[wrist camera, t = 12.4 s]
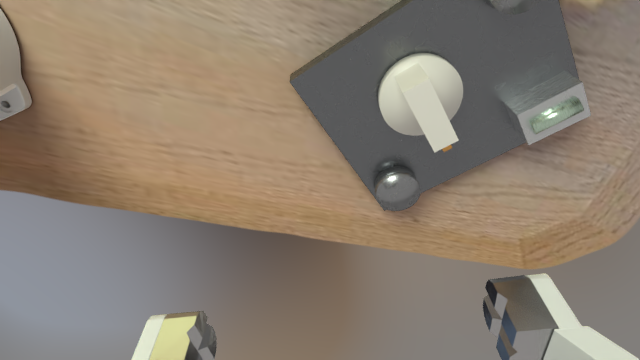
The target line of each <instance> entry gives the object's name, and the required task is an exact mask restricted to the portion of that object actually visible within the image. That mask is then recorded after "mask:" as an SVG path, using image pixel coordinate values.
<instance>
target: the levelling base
mask: <svg viewBox="0 0 640 360" xmlns="http://www.w3.org/2000/svg"><path fill="white" fill-rule="evenodd" d="M417 53H431V54H435V55H438V56H441V57H443V58H444V59H446V60H447V61H448V62H449V63H450V64H451V65H452V66H453V67H454V68H455V69H456V71H457V72H458V73H459V75H460V77H461V80H462V84H463V98H462V102H461V104H460V107H459V109H458V111H457V112H456V114H455V115H454V117H453V118H452V119H451V120H450V123H451V125H452V127H453V129H454V131H455V133H456V135H457V138H458V140H459V141H457V142H455V143H453V144H451V145H449V146H450V148H451V149H449V150H447V151H445V152H443V150H442V149H441V150H439V151H437V152H435V153H434V151H433V149H432V147H431V145H430V143H429V141H428V140H427V138H426V136H425V135H418V136H411V135H405V134H402V133H399V132H397V131H395V130H394V129H392V128H391V127H390V126H389V125H388V124H387V123H386V121H385V120H384V118H383V116H382V113H381V110H380V107H379V104H378V89H379V86H380V83H381V80H382V78H383V77H384V75H385V74H386V72H387V71H388V70H389V69H390V68H391V67H392V66H393V65H394V64H395V63H396V62H398V61H399V60H401V59H403V58H405V57H407V56H410V55H413V54H417ZM290 83H291V84H292V86H293V87H294V88H295V90H296V91H297V92H298V94H299V95H300V96H301V98H302V99H303V101H304V102H305V103H306V105H307V106H308V107H309V109H310V110H311V111H312V113H313V114H314V116H315V117H316V118H317V120H318V121H319V122H320V124H321V125H322V126H323V128H324V129H325V131H326V132H327V133H328V135H329V136H330V137H331V139H332V140H333V141H334V143H335V144H336V146H337V147H338V148H339V150H340V151H341V152H342V154H343V155H344V156H345V158H346V159H347V160H348V162H349V163H350V165H351V166H352V167H353V169H354V170H355V171H356V173H357V174H358V175H359V177H360V178H361V180H362V181H363V182H364V184H365V185H366V186H367V188H368V189H369V190H370V192H371V193H372V195H373V196H374V197H375V199H376V200H377V201H378V203H379V204H380V206H381V207H382V208H383V210H384V211H385V210H391V211H400V210H404V209H407V208H409V207H411V206H412V205H413V204H415V203H416V202H417V200H418V198H419V196H420V193H422V192H424V191H426V190H428V189H430V188H432V187H434V186H437V185H439V184H441V183H443V182H445V181H447V180H449V179H451V178H453V177H455V176H457V175H459V174H461V173H463V172H465V171H467V170H470V169H472V168H474V167H476V166H478V165H480V164H482V163H484V162H486V161H488V160H490V159H492V158H494V157H496V156H498V155H500V154H503V153H505V152H507V151H509V150H511V149H513V148H515V147H517V146H519V145H521V144H523V143H525V142H526V143H527V144H528V145H530V144H532V143H535V142H537V141H539V140H541V139H543V138H545V137H547V136H549V135H551V134H553V133H555V132H557V131H559V130H562V129H564V128H566V127H568V126H570V125H572V124H574V123H576V122H578V121H580V120H582V119H584V118H587V117H589V116H591V113H590V109H589V105H588V102H587V98H586V94H585V90H584V86H583V82H581V81H580V80H579V77H578V74H577V70H576V66H575V62H574V58H573V54H572V51H571V47H570V43H569V39H568V35H567V31H566V28H565V24H564V20H563V16H562V12H561V8H560V5H559V1H558V0H402V1H400V2H399V3H397V4H396V5H394V6H393V7H391V8H390V9H388V10H387V11H385V12H384V13H382V14H381V15H379V16H378V17H376V18H375V19H373V20H372V21H370V22H369V23H367V24H366V25H364V26H363V27H361V28H360V29H358V30H357V31H355V32H354V33H352V34H351V35H349V36H348V37H346V38H345V39H343V40H342V41H340V42H339V43H337V44H336V45H334V46H333V47H331V48H330V49H328V50H327V51H325V52H324V53H322V54H321V55H319V56H318V57H316V58H315V59H313V60H312V61H310V62H309V63H307V64H306V65H304V66H303V67H301V68H300V69H298V70H297V71H295V72H294V73H292V74H291V76H290Z"/></svg>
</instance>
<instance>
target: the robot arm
mask: <svg viewBox="0 0 640 360" xmlns="http://www.w3.org/2000/svg"><path fill="white" fill-rule="evenodd" d="M6 101H7V102H8V103H9V104H10V105H9V104H8V103H7V102H6ZM31 103H32V100H31V96H30V93H29V91H28V89H27V87H26V85H25V83H24V81H23V79H22V75H21V61H20V51H19V46H18V43H17V40H16V37H15V34H14V32H13V29H12V27H11V25H10V23H9V22H8V20H7V18H6V16H5V15H4V13H3V12H2V10H1V9H0V121H1V120H3V119H6V118H8V117H10V116H12V115H14V114H16V113H18V112H21V111H23V110H25V109H27V108H29V107H30V106H31ZM485 288H486V290H487V292H488V295H487V296H486V297H485V298H484V301H483V311H484V317H485V320H486V324H487V326H488V329H489V331H490V332H491V333H492V334H493V335H495V336H496V337H497V338H498V341H497V346H496V348H497V350H498V352H499V355H500V357H501V359H502V360H640V359H638V358H637V357H635V356H634V355H632V354H630V353H629V352H627V351H626V350H624V349H623V348H621V347H620V346H618V345H617V344H615V343H613V342H612V341H610V340H609V339H607V338H606V337H604V336H602V335H601V334H600V333H598V332H596V331H595V330H593V329H592V328H590V327H589V326H582V325H581V324H580V323H579V321H578V319H577V318H576V316H575V315H574V313H573V312H572V310H571V309H570V307H569V306H568V304H567V303H566V301H565V300H564V298H563V297H562V295H561V293H560V292H559V290H558V289H557V287H556V286H555V284H554V283H553V281H552V280H551V278H550V277H549V276H548V275H547V274H535V275H527V276H524V275H522V276H514V277H506V278H498V279H490V280H488V281H487V283H486V287H485ZM206 322H207V316H206V314H205V313H204V311H197V312H186V313H175V314H163V315H153V316H151V317H150V318H149V319H148V321H147V322H146V325H145V327H144V330H143V332H142V334H141V337H140V339H139V342H138V345H137V347H136V349H135V352H134V354H133V357H132V359H131V360H214V358H215V353H216V334H215V331H214V329H213V327H212V326H210V325H209V324H207V323H206Z"/></svg>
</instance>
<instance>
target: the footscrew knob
mask: <svg viewBox="0 0 640 360" xmlns="http://www.w3.org/2000/svg"><path fill="white" fill-rule="evenodd" d="M462 98H463V84H462V80H461V77H460V75H459V73H458V72H457V71H456V69H455V68H454V67H453V66H452V65H451V64H450V63H449V62H448V61H447V60H446V59H444V58H443V57H441V56H438V55H435V54H431V53H417V54H413V55H410V56H407V57H405V58H403V59H401V60H399V61H398V62H396V63H395V64H394V65H393V66H392V67H391V68H390V69H389V70H388V71H387V72H386V74H385V75H384V77H383V78H382V80H381V83H380V86H379V89H378V104H379V107H380V110H381V113H382V116H383V118H384V120H385V121H386V123H387V124H388V125H389V126H390V127H391V128H392V129H394V130H395V131H397V132H399V133H402V134H405V135H411V136H418V135H425V136H426V138H427V140H428V141H429V143H430V145H431V147H432V149H433V151H434V153H435V152H437V151H439V150H441V149H442V150H443V152H445V151H447V150H449V149H451V148H450V146H449V145H451V144H453V143H455V142H457V141H459V140H458V138H457V135H456V133H455V131H454V129H453V127H452V125H451V123H450V120H451V119H452V118H453V117H454V115H455V114H456V112H457V111H458V109H459V107H460V104H461V102H462Z"/></svg>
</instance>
